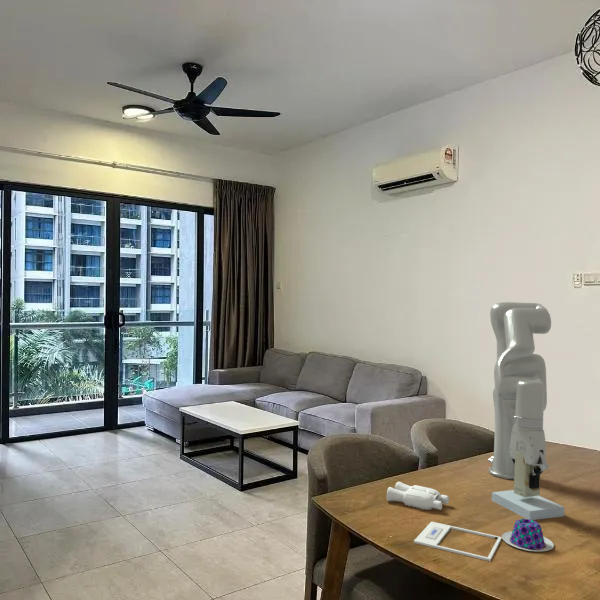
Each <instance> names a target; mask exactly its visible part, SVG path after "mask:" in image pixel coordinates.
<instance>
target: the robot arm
mask: <svg viewBox="0 0 600 600" xmlns="http://www.w3.org/2000/svg"><path fill="white" fill-rule="evenodd" d="M550 314H551V313H549V311H548V309H547V308H546V307H545V306H543V304H541V303H535V302H509V301H507V302H498V303H495V304H493V305H492V306H491V308H490V312H489V315H490V324H491V327H492V330H493V332H494V336H495V339H496V361H495V364H494V369H493V378H494V388H493V390H492V391H493V392H492V398H493V399H492V400H493V408H494V437H493V438H494V440H493V442H494V443H493V455H492V456H491V457H490V458H488V459H487V461H488V463H491V466H490V467H489V468H488V472H489V474H490V475H491V476H495V477H498V478H502V479H507V480H508V479H509V480H514V476H515V454H516V452H518V453H520V454H523V456H524V460H525V463H527V464H528V465H530V469H531V475H530V476H529V488H530V489H536V488H539V478H540V479H541V475H542V473H544V472H545V471H546V470H548V469H549V468H550V466H549V464H548V462H547V459H546V457H547V446H546V445H547V443H546V435H545V430H544V412H545V410H546V409H547V405H548V394H547V393H548V392H547V387H548V386H547V367H546V362H545V359H544V358H543V356H541V355H540V354H537V353H534V352H535V350H536V349H535V347H536V346H535V339H534V334H538V335H539V334H540V335H546V334H548V333H549V332H550V330H551V328H552V319H551V318H552V317H551V315H550ZM540 464H541V465H540ZM535 466H536V469H535Z"/></svg>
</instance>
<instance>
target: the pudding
mask: <svg viewBox="0 0 600 600" xmlns="http://www.w3.org/2000/svg"><path fill="white" fill-rule="evenodd" d="M513 525H514V526H513V529H512V530H509V531H505V532H504V533H502V534H501V537H502V539H501V540H502V541H504V543H506V544H507V545H509V546H512V547H515V548H516V549H519V550H523V551H529V552H547V551H550V550H552V549H554V546H555V545H554V543H553V542H552V540H550V539H549V538H547V537H545V536H544V534H543V530H542V526H541V524H540V523H539V522H537V521H536V520H529V519H526V518H520V519H516V520H515V522H514V524H513ZM545 543H546V544H545ZM545 547H546V548H545Z"/></svg>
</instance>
